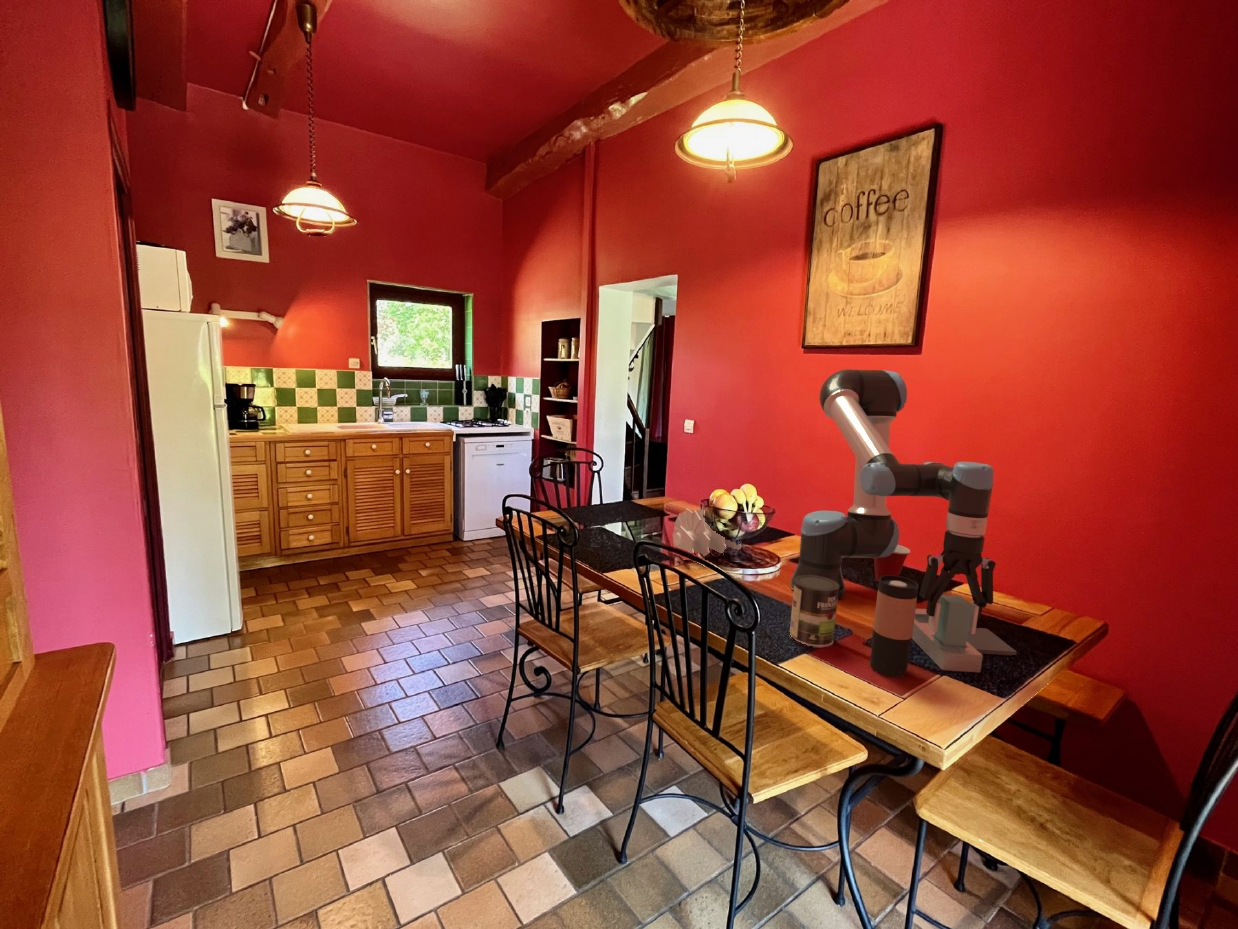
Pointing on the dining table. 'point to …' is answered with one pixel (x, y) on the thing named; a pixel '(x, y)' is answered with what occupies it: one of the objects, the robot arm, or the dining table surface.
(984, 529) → the robot arm
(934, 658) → the block with square holes
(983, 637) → the rubber mat
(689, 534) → the spiral staircase
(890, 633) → the travel mug
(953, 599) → the gray rectangular box
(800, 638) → the coffee can
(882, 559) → the plastic cup
